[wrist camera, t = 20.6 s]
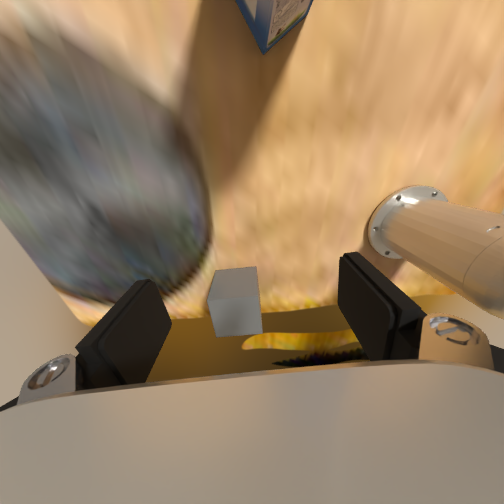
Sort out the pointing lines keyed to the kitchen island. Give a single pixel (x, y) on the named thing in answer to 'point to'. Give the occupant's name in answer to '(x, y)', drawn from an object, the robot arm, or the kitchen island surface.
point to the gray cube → (235, 302)
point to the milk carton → (272, 18)
